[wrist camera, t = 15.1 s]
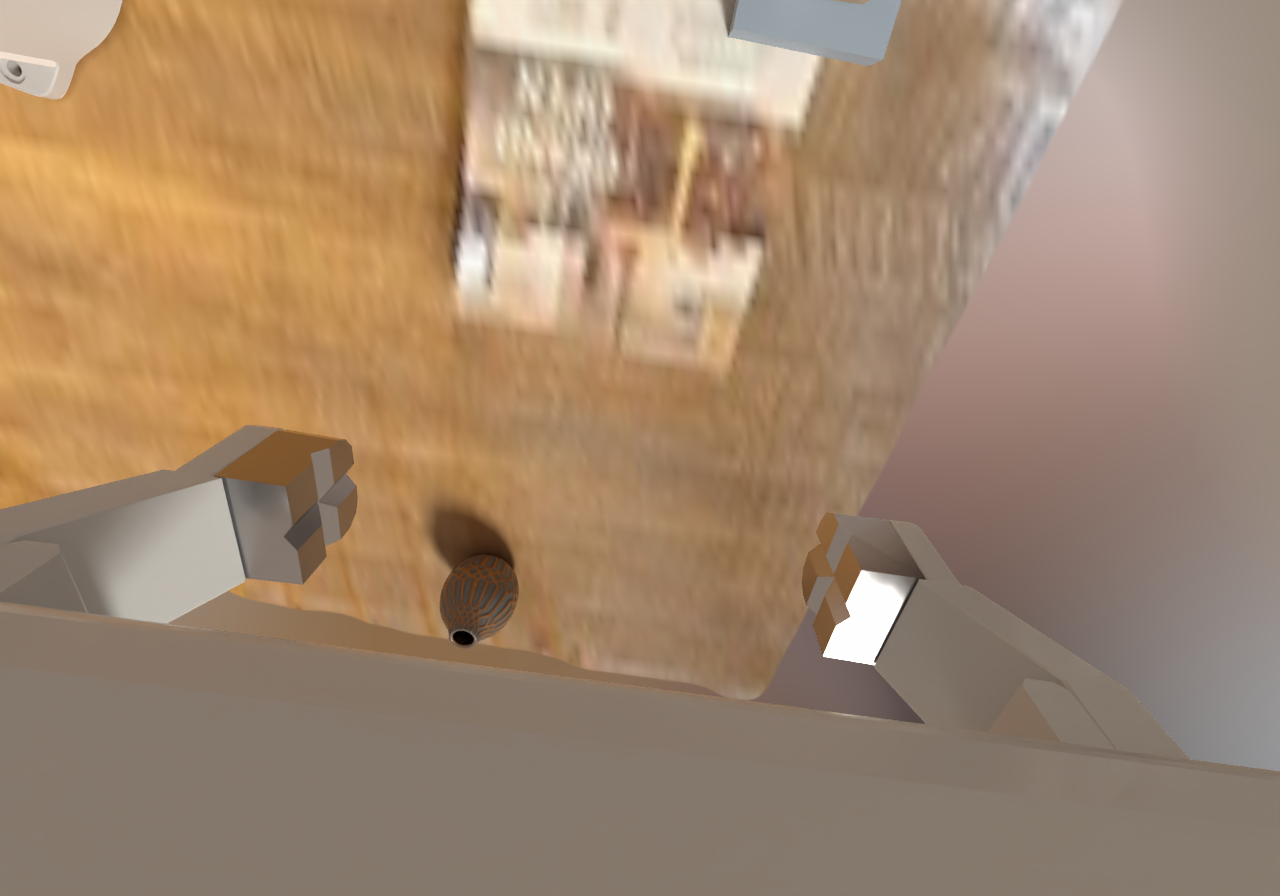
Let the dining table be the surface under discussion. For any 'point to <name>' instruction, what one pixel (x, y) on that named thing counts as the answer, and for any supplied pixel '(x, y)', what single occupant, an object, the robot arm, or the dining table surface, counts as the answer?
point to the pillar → (854, 1)
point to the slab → (818, 27)
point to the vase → (478, 599)
